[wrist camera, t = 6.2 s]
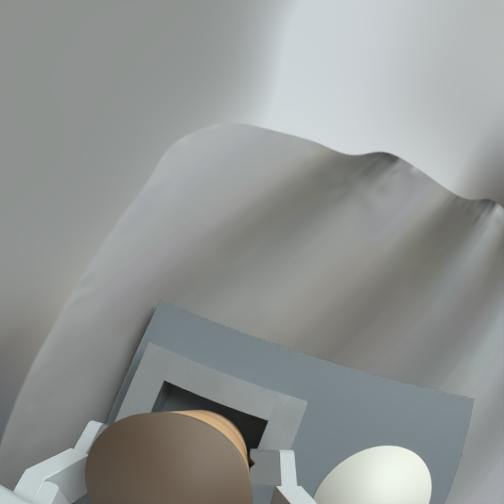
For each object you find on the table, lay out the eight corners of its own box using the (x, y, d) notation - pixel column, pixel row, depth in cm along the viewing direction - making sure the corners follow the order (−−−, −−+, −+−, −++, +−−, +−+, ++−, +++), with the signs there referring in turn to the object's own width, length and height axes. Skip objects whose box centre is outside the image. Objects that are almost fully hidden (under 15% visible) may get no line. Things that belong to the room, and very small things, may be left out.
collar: (247, 529, 13) (248, 544, 11) (109, 472, 14) (92, 478, 12) (299, 402, 16) (308, 401, 14) (160, 350, 17) (149, 341, 15)
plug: (229, 498, 13) (219, 578, 5) (150, 467, 13) (69, 511, 5) (258, 426, 15) (277, 449, 7) (178, 396, 15) (115, 384, 7)
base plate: (389, 592, 10) (396, 598, 9) (79, 512, 13) (70, 517, 12) (464, 400, 17) (475, 398, 16) (164, 306, 20) (159, 299, 19)
